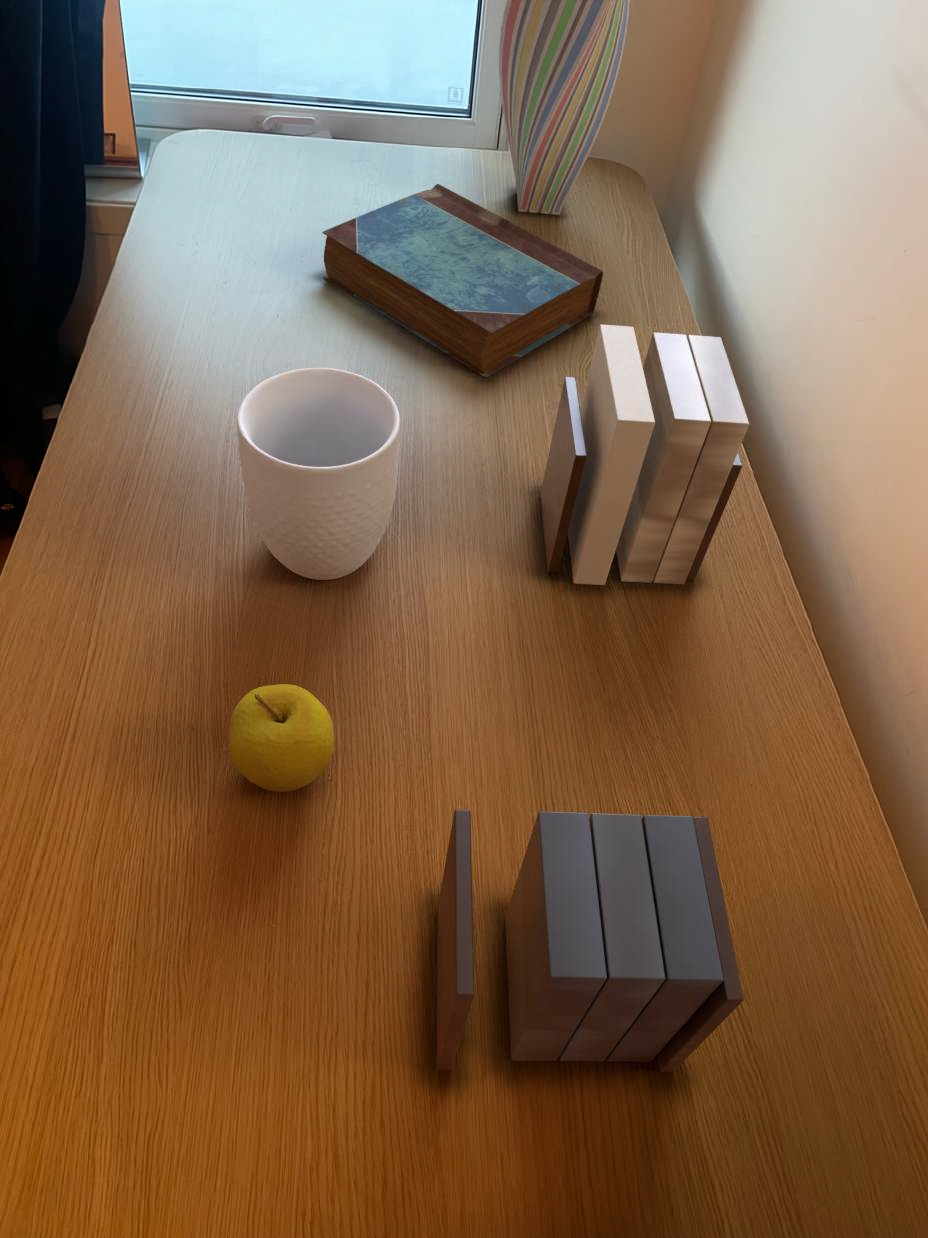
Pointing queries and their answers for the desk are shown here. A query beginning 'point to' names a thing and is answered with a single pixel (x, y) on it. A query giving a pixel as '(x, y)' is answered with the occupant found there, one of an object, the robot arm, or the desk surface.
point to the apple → (280, 737)
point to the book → (461, 277)
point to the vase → (556, 89)
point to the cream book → (609, 451)
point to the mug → (319, 467)
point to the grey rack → (597, 940)
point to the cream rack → (660, 462)
